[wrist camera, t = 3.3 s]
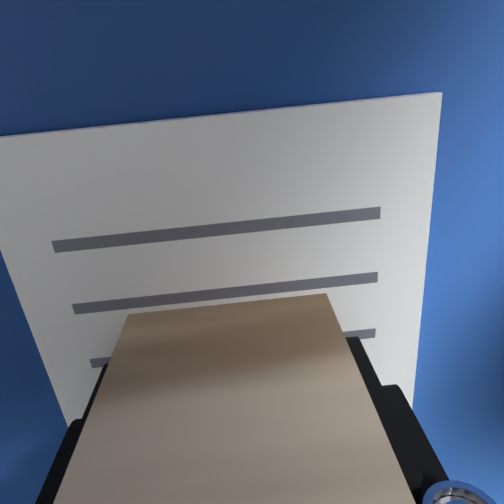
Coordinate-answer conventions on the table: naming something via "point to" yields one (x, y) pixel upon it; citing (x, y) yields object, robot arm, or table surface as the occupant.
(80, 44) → the table surface
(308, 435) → the block
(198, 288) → the letter
